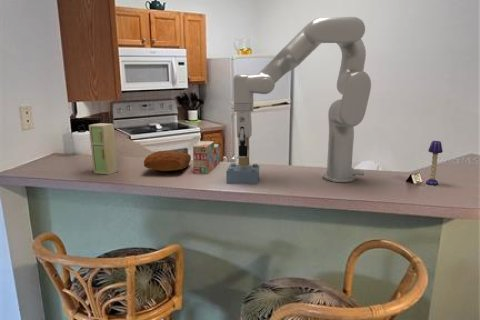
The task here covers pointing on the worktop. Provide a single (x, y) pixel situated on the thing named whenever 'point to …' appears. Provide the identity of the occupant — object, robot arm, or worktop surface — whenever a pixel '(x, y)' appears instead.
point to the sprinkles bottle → (244, 159)
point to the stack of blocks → (205, 157)
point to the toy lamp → (434, 161)
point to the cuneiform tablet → (167, 161)
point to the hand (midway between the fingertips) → (243, 154)
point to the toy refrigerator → (103, 148)
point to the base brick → (242, 174)
